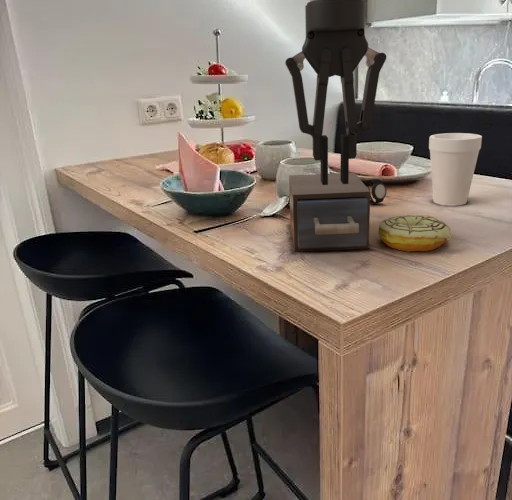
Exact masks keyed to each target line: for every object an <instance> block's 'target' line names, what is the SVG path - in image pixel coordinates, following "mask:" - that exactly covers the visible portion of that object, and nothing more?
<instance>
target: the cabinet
mask: <svg viewBox="0 0 512 500" xmlns="http://www.w3.org/2000/svg"><path fill="white" fill-rule="evenodd" d="M364 183H365V182H363V181H362V180H361V179H360V178H359V176H358V175H357V173H355V172H349V181H348V184H343V183H342V182H341V180H340V172H337V173H336V172H335V173H334V172H333V173H328V185H322V183H321V173H315V174H314V173H313V174H311V173H310V174H293V175H292V174H291V175H288V185H289V186H288V187H289V188H288V189H289V225H290V231H291V237H292V238H291V239H292V245H293V251H294V252H314V251H315V252H317V251H319V252H320V251H343V250H367V249H370V222H371V221H370V220H371V218H370V216H371V204H370V193H371V190H370V191H369V190H368V188H369V187H368V188H367V187H366V186H365V185H364ZM351 197H360V198H367V200H368V206H367V242H366V246H349V247H323V248H298V222H297V201H298V200H304V199H328V198H351Z"/></svg>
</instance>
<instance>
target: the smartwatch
mask: <svg viewBox="0 0 512 500" xmlns="http://www.w3.org/2000/svg"><path fill="white" fill-rule="evenodd" d="M363 183H364V185H365V186H366V187H367V188H368V190H369V191H370V205H376V204H380V203H382V202H384V199H385V198H386V196H387V190H388V189H387V186H386V185H385V184H384V183H383V182H382V180H381V179H379V178H372V179H367V180H366V181H365V182H363ZM371 183H373V185H372V186H371V188H370V185H371Z"/></svg>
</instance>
